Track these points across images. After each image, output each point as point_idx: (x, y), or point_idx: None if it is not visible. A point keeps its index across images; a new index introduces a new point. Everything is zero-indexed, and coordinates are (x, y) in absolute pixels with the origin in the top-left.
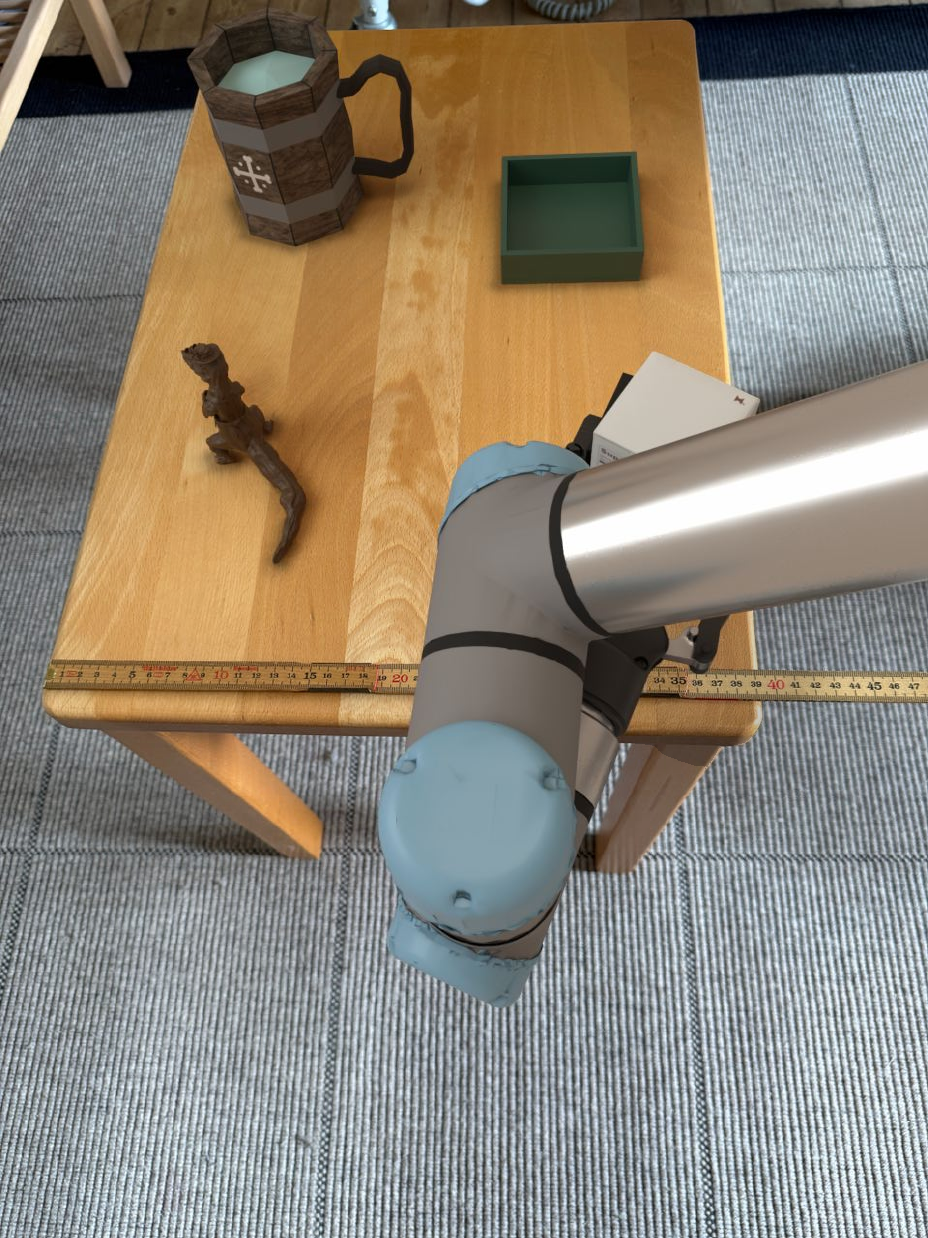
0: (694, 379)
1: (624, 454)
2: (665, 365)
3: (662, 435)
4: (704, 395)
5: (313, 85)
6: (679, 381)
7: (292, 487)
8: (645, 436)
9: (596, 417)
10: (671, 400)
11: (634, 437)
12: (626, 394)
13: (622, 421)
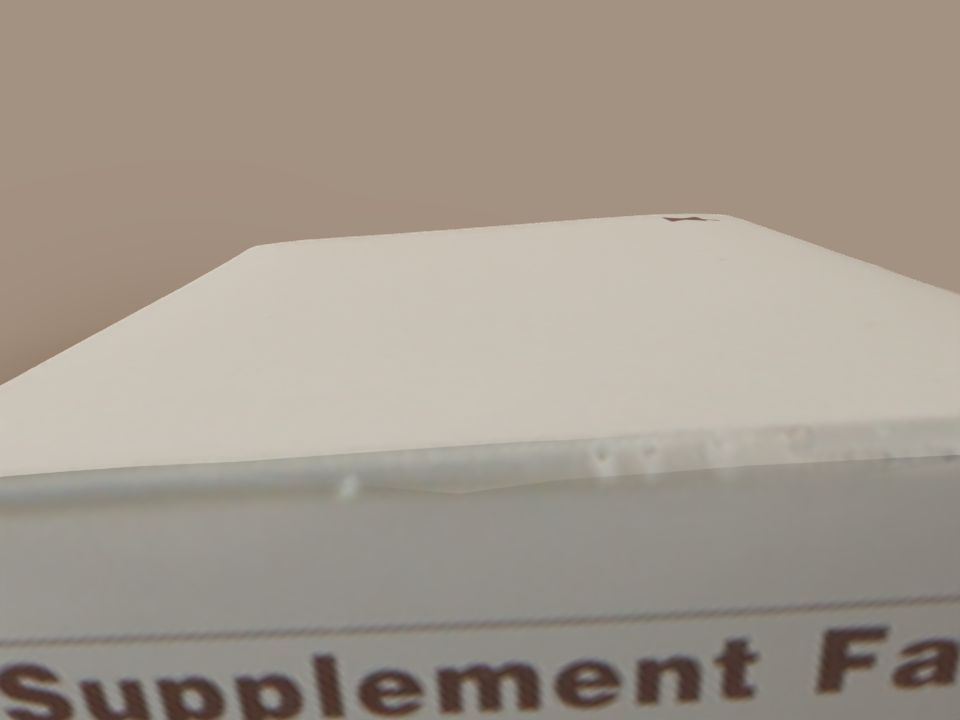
0: (469, 232)
1: (268, 571)
2: (324, 243)
3: (519, 321)
4: (554, 235)
5: None
6: (416, 241)
7: None
8: (400, 348)
9: None
10: (431, 261)
11: (306, 383)
12: (159, 306)
13: (156, 360)
